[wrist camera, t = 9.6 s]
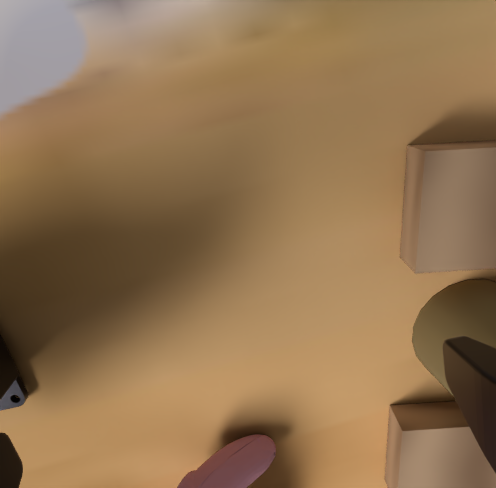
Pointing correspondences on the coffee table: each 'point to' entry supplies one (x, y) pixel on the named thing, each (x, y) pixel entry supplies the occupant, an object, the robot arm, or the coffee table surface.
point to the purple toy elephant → (234, 464)
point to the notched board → (442, 260)
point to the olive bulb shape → (455, 321)
